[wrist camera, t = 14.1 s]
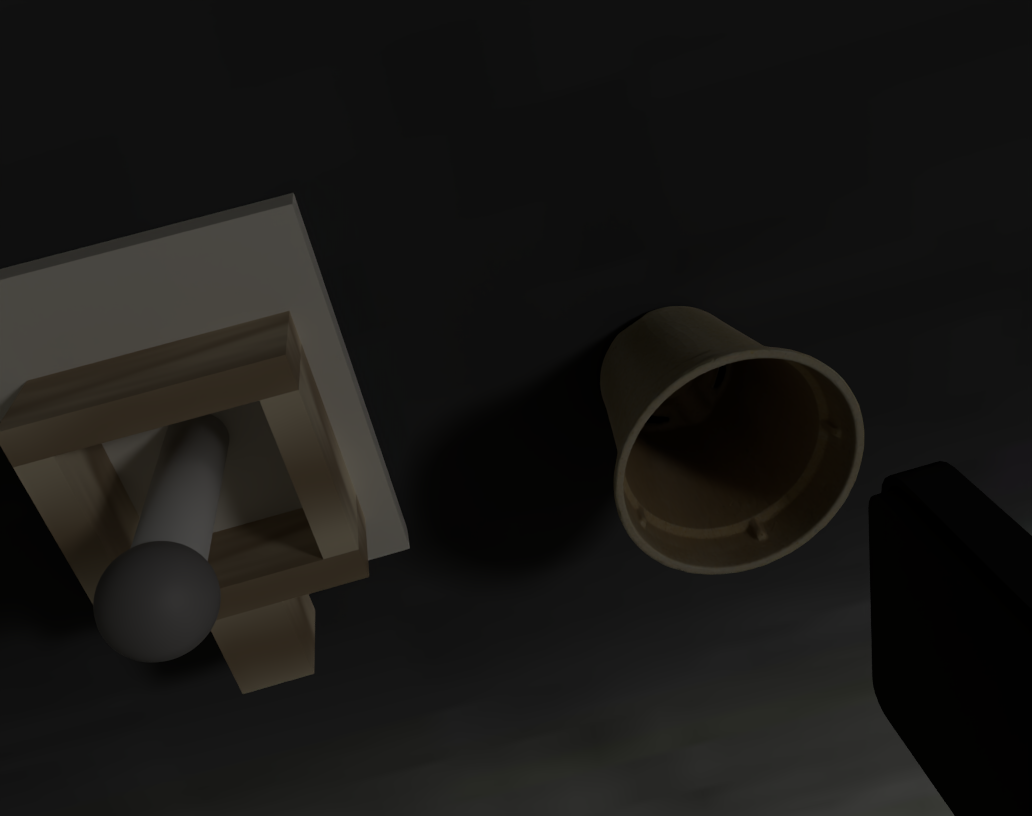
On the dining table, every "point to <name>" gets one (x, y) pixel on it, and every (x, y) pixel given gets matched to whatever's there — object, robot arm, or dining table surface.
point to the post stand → (203, 440)
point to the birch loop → (234, 551)
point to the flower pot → (724, 442)
